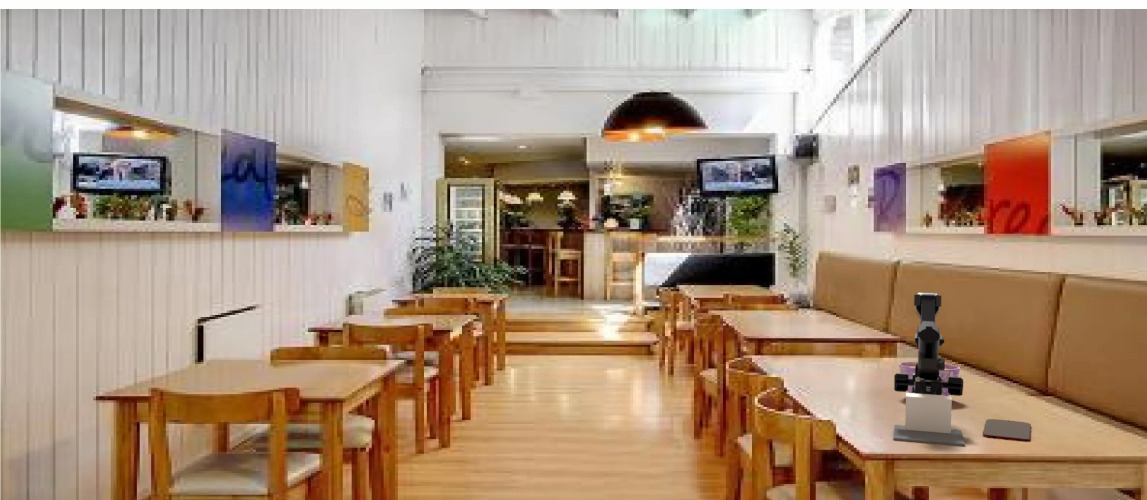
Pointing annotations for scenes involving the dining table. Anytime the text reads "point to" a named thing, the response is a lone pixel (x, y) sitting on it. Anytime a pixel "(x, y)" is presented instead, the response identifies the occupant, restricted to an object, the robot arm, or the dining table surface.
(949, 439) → the charcoal mat
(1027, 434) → the smartphone
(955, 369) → the lavender translucent bowl
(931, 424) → the cream and orange slab
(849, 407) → the dining table surface
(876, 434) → the dining table surface
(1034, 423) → the dining table surface
